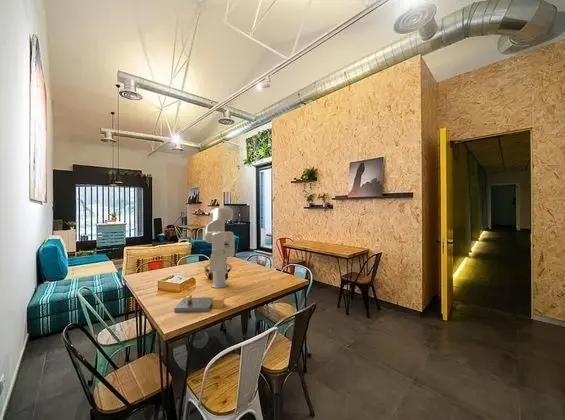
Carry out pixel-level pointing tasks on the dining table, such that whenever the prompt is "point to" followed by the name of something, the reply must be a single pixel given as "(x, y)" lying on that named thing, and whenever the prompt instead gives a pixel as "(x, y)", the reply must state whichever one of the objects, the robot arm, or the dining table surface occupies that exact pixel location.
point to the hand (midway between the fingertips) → (218, 279)
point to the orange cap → (218, 302)
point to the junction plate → (194, 304)
